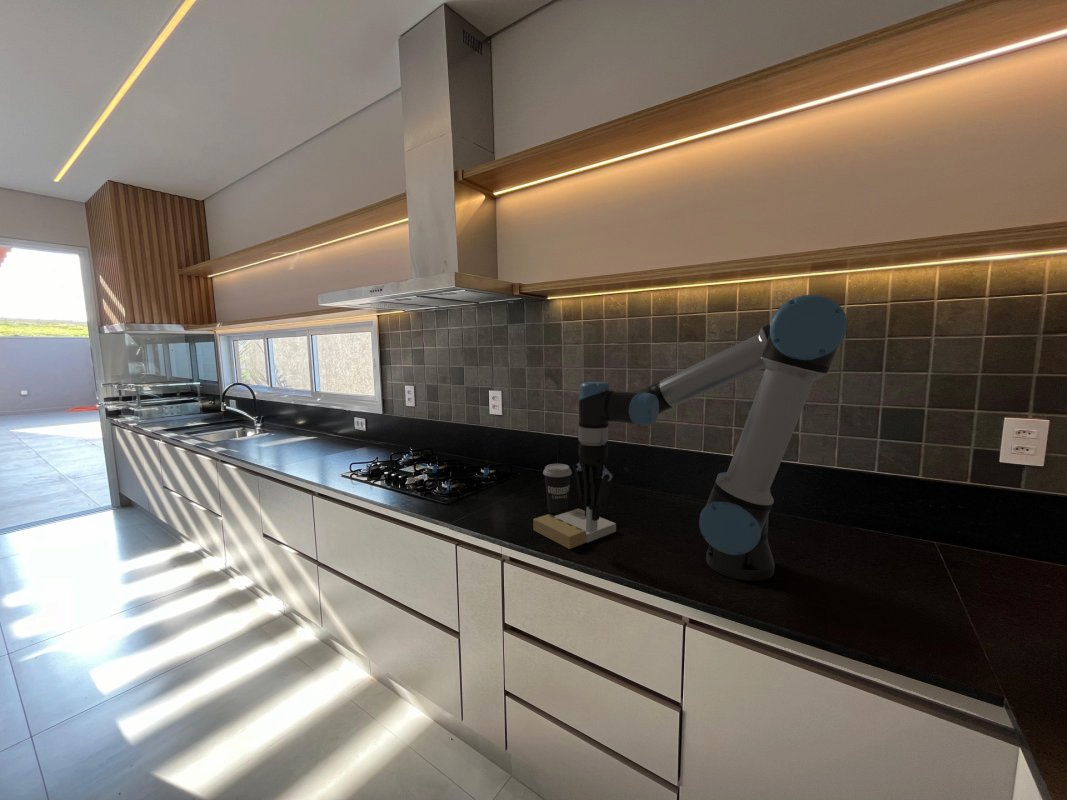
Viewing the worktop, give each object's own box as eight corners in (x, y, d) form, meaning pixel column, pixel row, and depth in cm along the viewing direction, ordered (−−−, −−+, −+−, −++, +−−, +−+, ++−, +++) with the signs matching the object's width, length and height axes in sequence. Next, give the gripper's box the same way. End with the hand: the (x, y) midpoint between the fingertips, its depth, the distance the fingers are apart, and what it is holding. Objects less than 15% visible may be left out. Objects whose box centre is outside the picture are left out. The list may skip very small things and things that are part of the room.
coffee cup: (538, 512, 144) (537, 468, 143) (551, 503, 153) (550, 462, 151) (565, 517, 140) (564, 472, 138) (576, 507, 148) (576, 465, 147)
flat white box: (615, 531, 129) (616, 522, 128) (586, 543, 121) (586, 533, 121) (578, 515, 141) (578, 507, 141) (550, 525, 134) (550, 516, 134)
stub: (585, 542, 121) (585, 530, 121) (569, 549, 118) (569, 535, 117) (548, 525, 134) (548, 513, 133) (533, 530, 130) (533, 518, 130)
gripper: (622, 444, 108) (620, 535, 111) (585, 436, 119) (584, 519, 122) (601, 449, 104) (599, 543, 107) (565, 439, 114) (564, 526, 117)
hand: (591, 530), depth 114 cm, fingers closed
